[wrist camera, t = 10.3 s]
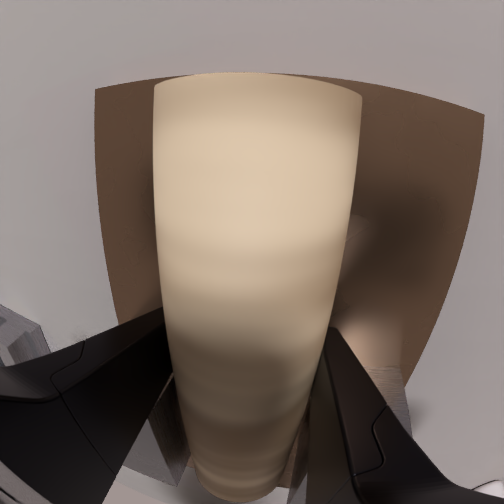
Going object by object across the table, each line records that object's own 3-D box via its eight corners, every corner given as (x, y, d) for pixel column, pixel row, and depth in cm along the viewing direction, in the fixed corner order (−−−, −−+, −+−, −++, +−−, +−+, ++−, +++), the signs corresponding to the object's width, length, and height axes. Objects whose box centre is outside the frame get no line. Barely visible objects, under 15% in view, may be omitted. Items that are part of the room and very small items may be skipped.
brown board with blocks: (333, 480, 16) (325, 540, 11) (168, 448, 18) (142, 500, 13) (469, 114, 7) (577, 120, 2) (112, 90, 9) (-2, 91, 4)
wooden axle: (290, 441, 12) (273, 510, 9) (211, 423, 13) (182, 486, 10) (353, 107, 7) (378, 83, 3) (203, 98, 7) (108, 86, 4)
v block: (103, 447, 22) (89, 468, 19) (43, 413, 24) (30, 429, 21) (39, 325, 16) (10, 350, 13) (-17, 294, 17) (-40, 311, 14)
